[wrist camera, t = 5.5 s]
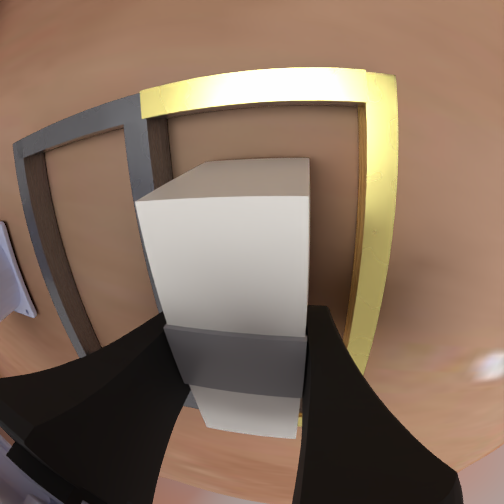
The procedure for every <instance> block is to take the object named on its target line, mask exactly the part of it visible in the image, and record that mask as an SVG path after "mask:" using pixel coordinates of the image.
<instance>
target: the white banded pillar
mask: <svg viewBox="0 0 504 504" xmlns="http://www.w3.org/2000/svg"><path fill="white" fill-rule="evenodd" d="M135 205H136V210H137V214H138V219H139V223H140V228H141V232H142V236H143V241H144V245H145V249H146V253H147V257H148V260H149V264H150V268H151V272H152V275H153V279H154V282H155V286H156V289H157V293H158V296H159V300H160V303H161V306H162V309H163V313H164V316H165V319H166V322H167V323H166V324H165V326H164V331H165V334H166V337H167V340H168V343H169V345H170V348H171V351H172V353H173V356H174V359H175V361H176V364H177V367H178V369H179V372H180V374H181V377H182V379H183V382H184V384H189V386H190V388H191V391H192V393H193V396H194V398H195V401H196V403H197V405H198V408H199V410H200V412H201V415H202V417H203V419H204V422H205V424H206V426H207V427H209V428H214V429H219V430H225V431H231V432H237V433H244V434H251V435H259V436H268V437H278V438H291V439H296V433H297V425H298V417H299V408H300V399H301V398H302V392H303V382H304V371H305V360H306V347H307V336H306V320H307V305H308V291H309V262H310V162H309V158H262V159H239V160H222V161H209V162H205V163H203V164H201V165H199V166H197V167H195V168H193V169H191V170H189V171H188V172H186V173H184V174H182V175H180V176H178V177H177V178H175V179H173V180H171V181H169V182H168V183H166V184H164V185H162V186H161V187H159V188H157V189H155V190H154V191H152V192H150V193H149V194H147V195H145V196H144V197H142V198H140V199H139V200H137V201H135Z"/></svg>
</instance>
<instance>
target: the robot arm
mask: <svg viewBox="0 0 504 504" xmlns="http://www.w3.org/2000/svg"><path fill="white" fill-rule="evenodd" d="M13 311H16V312H18V313H21V314H24V315H26V316H29V317H32V318H35V317H36V316H37V312H36V310H35V308H34V305H33V303H32V301H31V298H30V296H29V294H28V291H27V289H26V286H25V284H24V281H23V278H22V276H21V273H20V270H19V267H18V265H17V262H16V259H15V256H14V253H13V249H12V246H11V243H10V239H9V236H8V232H7V229H6V226H5V224H4V222H2V221H0V322H1V321H2V320H3V319H4V318H6V317H7V316H8V315H9V314H10V313H11V312H13ZM166 323H167V322H166V319H165V316H164V313H163V311H162V312H161V313H159V314H158V315H156V316H155V317H153V318H152V319H150V320H149V321H147V322H146V323H144V324H143V325H141V326H139V327H138V328H136V329H135V330H133V331H131V332H130V333H128V334H126V335H125V336H123V337H121V338H120V339H118V340H116V341H115V342H113V343H111V344H109V345H107V346H105V347H103V348H101V349H99V350H97V351H95V352H93V353H91V354H89V355H86V356H84V357H82V358H79V359H76V360H74V361H71V362H68V363H66V364H63V365H60V366H57V367H54V368H51V369H47V370H44V371H40V372H35V373H31V374H26V375H20V376H13V377H6V378H0V426H1V428H2V429H3V430H4V431H5V432H6V433H7V434H8V435H9V436H10V437H11V438H12V439H13V440H14V441H15V443H14V444H13V446H11V445H10V444H9V443H8V442H7V441H6V440H5V439H4V438H3V437H2V436H1V435H0V504H152V502H153V498H154V493H155V488H156V484H157V480H158V476H159V472H160V468H161V464H162V461H163V458H164V454H165V451H166V448H167V445H168V442H169V439H170V436H171V433H172V430H173V427H174V424H175V422H176V420H177V417H178V415H179V413H180V411H181V409H182V407H183V405H184V403H185V401H186V399H187V397H188V395H189V393H190V391H191V388H190V386H189V384H184V382H183V379H182V377H181V374H180V372H179V369H178V367H177V364H176V361H175V359H174V356H173V353H172V351H171V348H170V345H169V343H168V340H167V337H166V334H165V331H164V326H165V324H166ZM306 336H307V347H306V360H305V371H304V382H303V392H302V440H301V450H300V457H299V464H298V471H297V477H296V483H295V489H294V495H293V501H292V504H463V495H462V489H461V485H460V481H459V478H458V474H457V472H456V471H454V470H453V469H452V468H450V467H449V466H448V465H446V464H445V463H444V462H443V461H441V460H440V459H439V458H437V457H436V456H435V455H434V454H433V453H431V452H430V451H429V450H428V449H427V448H426V447H424V446H423V445H422V444H421V443H420V442H419V441H418V440H417V439H416V438H415V437H414V436H413V435H412V434H411V433H410V432H409V431H408V430H407V429H406V428H405V427H404V426H403V425H402V424H401V423H400V422H399V421H398V420H397V418H396V417H395V416H394V415H393V414H392V413H391V412H390V411H389V410H388V408H387V407H386V406H385V405H384V403H383V402H382V401H381V400H380V399H379V397H378V396H377V395H376V393H375V392H374V391H373V389H372V388H371V387H370V385H369V384H368V382H367V381H366V379H365V378H364V376H363V375H362V373H361V372H360V370H359V369H358V367H357V365H356V364H355V362H354V361H353V359H352V357H351V355H350V354H349V352H348V350H347V348H346V346H345V344H344V342H343V340H342V339H341V337H340V334H339V332H338V330H337V328H336V326H335V323H334V321H333V318H332V316H331V313H330V309H329V308H328V307H327V306H314V305H307V320H306Z"/></svg>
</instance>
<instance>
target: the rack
mask: <svg viewBox="0 0 504 504" xmlns="http://www.w3.org/2000/svg"><path fill="white" fill-rule="evenodd" d="M295 105H326V106H353V107H358V125H359V185H358V210H357V227H356V240H355V252H354V263H353V272H352V281H351V289H350V297H349V304H348V311H347V318H346V325H345V331H344V337H343V342H344V344H345V346H346V348H347V350H348V352H349V354H350V355H351V357H352V359H353V361H354V362H355V364H356V365H357V367H358V369H359V370H360V372H361V373H362V375H364V371H365V368H366V364H367V361H368V357H369V353H370V350H371V346H372V342H373V338H374V334H375V330H376V326H377V321H378V317H379V312H380V308H381V303H382V298H383V293H384V287H385V282H386V276H387V270H388V264H389V257H390V250H391V243H392V235H393V226H394V216H395V205H396V192H397V173H398V108H397V90H396V77H395V75H389V74H381V73H371V72H366V70H360V69H345V68H280V69H264V70H252V71H242V72H234V73H226V74H219V75H212V76H206V77H200V78H195V79H189V80H184V81H179V82H175V83H170V84H166V85H162V86H158V87H154V88H150V89H146V90H142V91H140V93H138V94H134V95H131V96H127V97H124V98H121V99H118V100H114V101H111V102H108V103H105V104H102V105H99V106H97V107H94V108H91V109H88V110H86V111H83V112H80V113H78V114H75V115H73V116H70V117H68V118H66V119H63V120H61V121H59V122H56V123H54V124H52V125H50V126H47V127H45V128H43V129H41V130H39V131H37V132H35V133H33V134H31V135H29V136H27V137H25V138H23V139H21V140H19V141H17V142H15V143H14V144H13V151H14V159H15V167H16V173H17V179H18V185H19V191H20V196H21V201H22V205H23V210H24V214H25V218H26V222H27V226H28V230H29V234H30V237H31V241H32V244H33V247H34V251H35V254H36V257H37V260H38V263H39V266H40V269H41V272H42V275H43V278H44V280H45V283H46V286H47V288H48V291H49V293H50V296H51V298H52V301H53V303H54V306H55V308H56V310H57V312H58V315H59V317H60V319H61V321H62V324H63V326H64V328H65V330H66V332H67V334H68V336H69V338H70V340H71V342H72V344H73V346H74V348H75V350H76V352H77V354H78V356H79V357H80V358H82V357H84V356H86V355H89V354H91V353H93V352H95V351H97V350H99V349H101V346H100V344H99V342H98V340H97V338H96V335H95V333H94V331H93V329H92V326H91V324H90V322H89V319H88V317H87V314H86V312H85V309H84V307H83V304H82V302H81V299H80V297H79V294H78V291H77V288H76V286H75V283H74V280H73V277H72V274H71V271H70V268H69V265H68V262H67V258H66V255H65V252H64V248H63V245H62V241H61V238H60V234H59V230H58V226H57V222H56V218H55V214H54V209H53V205H52V200H51V195H50V190H49V184H48V178H47V172H46V166H45V159H44V152H46V151H49V150H52V149H55V148H57V147H60V146H63V145H66V144H69V143H72V142H75V141H78V140H81V139H85V138H88V137H91V136H95V135H98V134H102V133H105V132H109V131H113V130H117V129H121V128H124V135H125V144H126V153H127V161H128V168H129V175H130V182H131V189H132V195H133V201H134V207H135V212H136V218H137V223H138V228H139V233H140V238H141V243H142V247H143V252H144V256H145V261H146V265H147V269H148V273H149V277H150V281H151V285H152V289H153V293H154V297H155V300H156V304H157V308H158V311H159V313H161V312H162V311H163V309H162V306H161V303H160V300H159V296H158V293H157V289H156V286H155V282H154V279H153V275H152V272H151V268H150V264H149V260H148V257H147V253H146V249H145V245H144V241H143V236H142V232H141V228H140V223H139V219H138V214H137V210H136V205H135V201H137V200H139V199H140V198H142V197H144V196H145V195H147V194H149V193H150V192H152V191H154V190H155V189H157V188H159V187H161V186H162V185H164V184H166V183H168V182H169V181H171V180H173V175H172V167H171V158H170V149H169V139H168V128H167V118H172V117H178V116H184V115H191V114H197V113H204V112H212V111H220V110H230V109H240V108H252V107H268V106H295ZM183 406H187V407H191V408H196V409H199V408H198V405H197V403H196V401H195V398H194V396H193V393H192V391H190V393H189V395H188V397H187V399H186V401H185V403H184V405H183ZM297 426H302V398H301V399H300V408H299V417H298V425H297Z"/></svg>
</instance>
